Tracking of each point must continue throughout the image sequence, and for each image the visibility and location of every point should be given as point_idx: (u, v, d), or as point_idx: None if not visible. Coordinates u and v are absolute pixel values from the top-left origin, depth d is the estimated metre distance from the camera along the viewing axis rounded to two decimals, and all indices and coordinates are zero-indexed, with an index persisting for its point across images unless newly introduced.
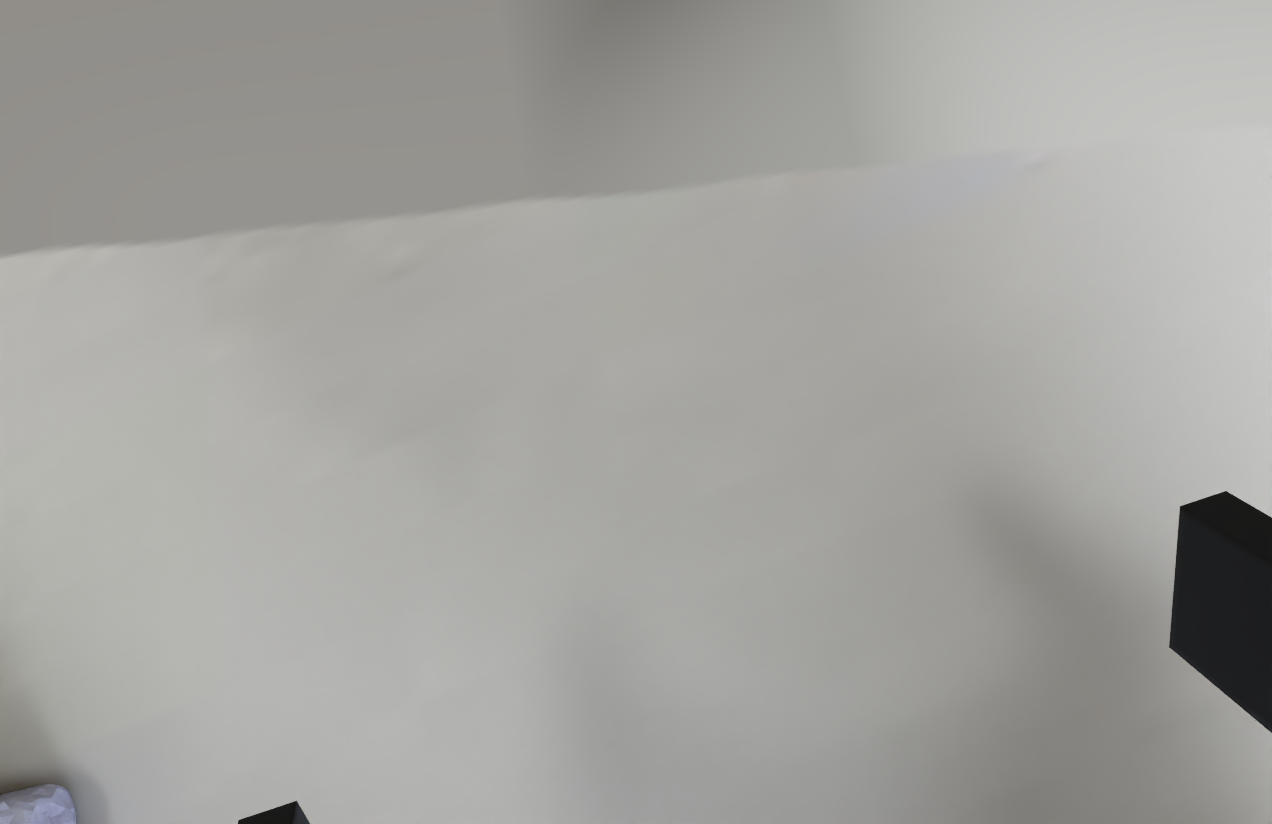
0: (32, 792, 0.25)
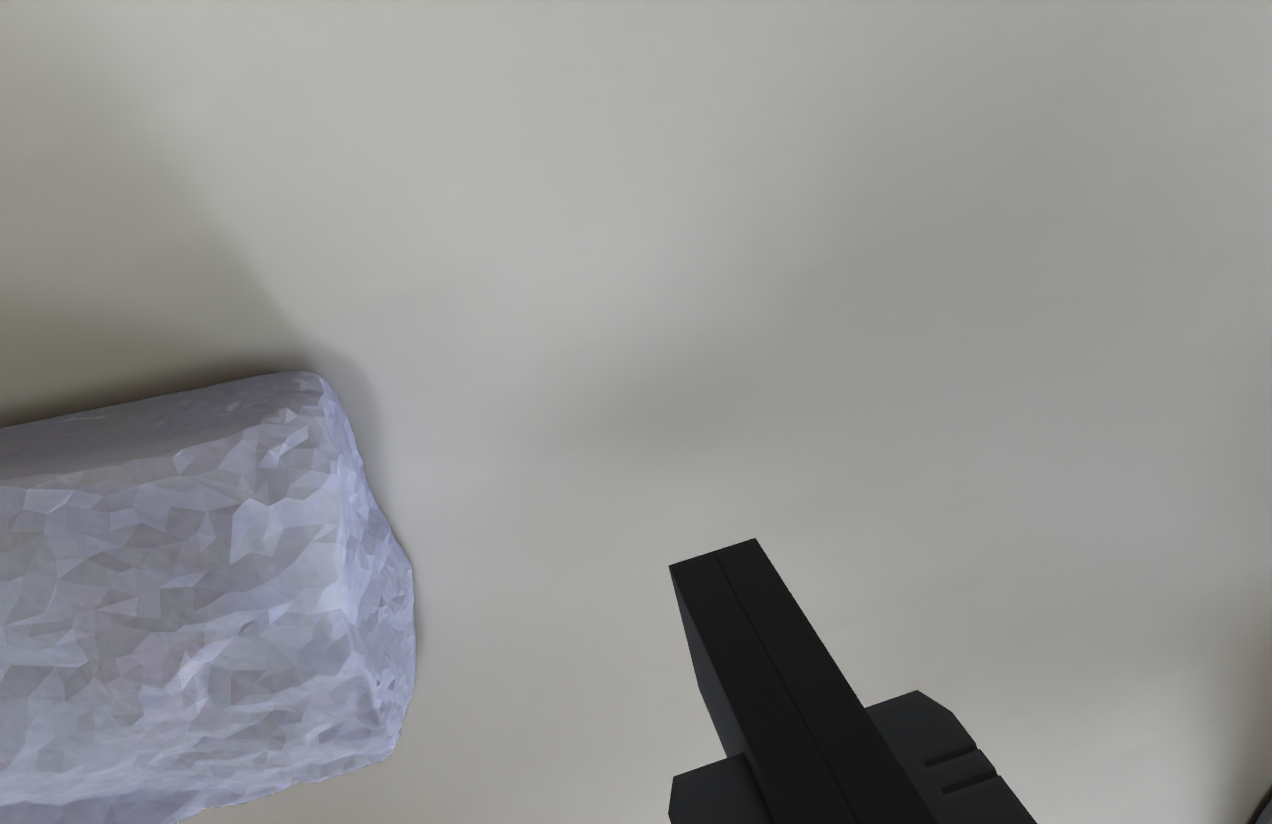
0: (297, 387, 0.17)
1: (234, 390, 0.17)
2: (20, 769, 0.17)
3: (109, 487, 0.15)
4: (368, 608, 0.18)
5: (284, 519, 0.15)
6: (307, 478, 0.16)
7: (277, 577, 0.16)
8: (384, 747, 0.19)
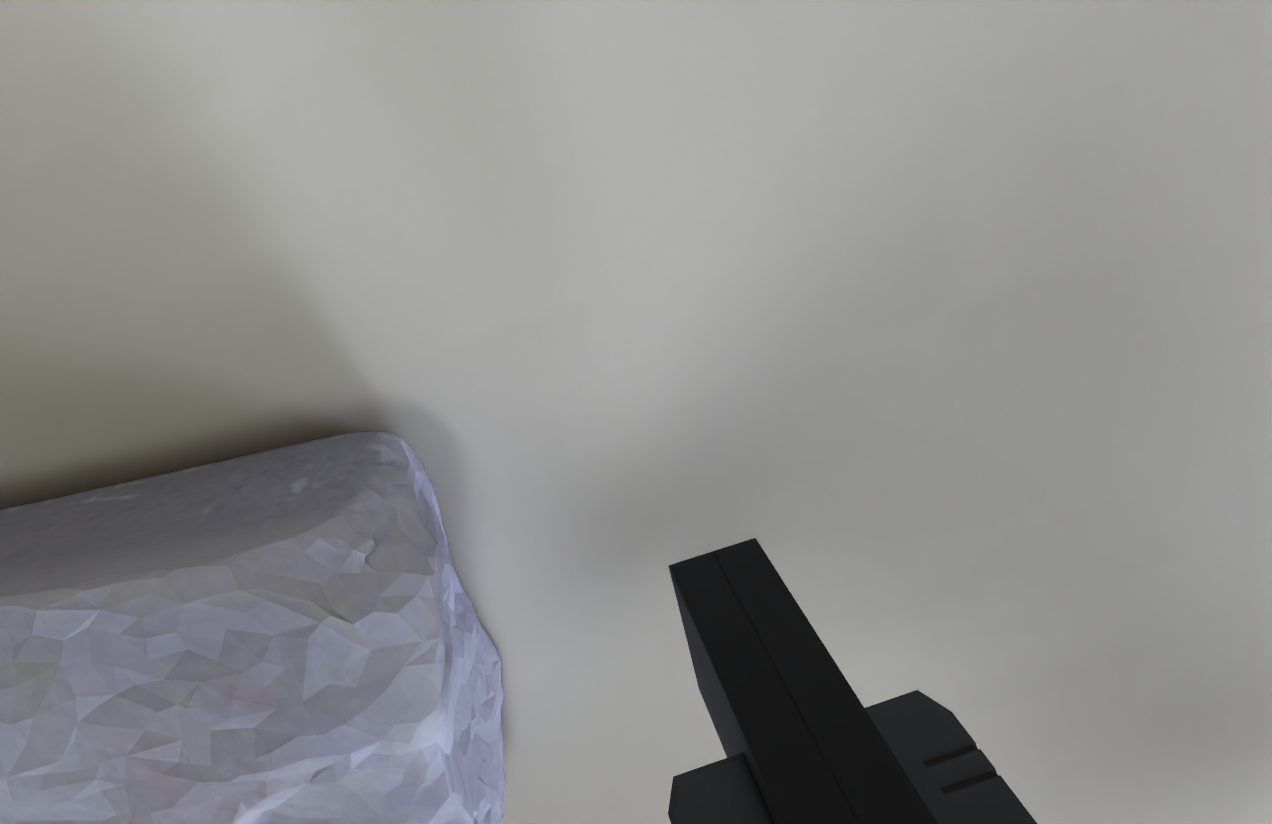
0: (378, 456, 0.13)
1: (297, 460, 0.14)
2: None
3: (145, 606, 0.11)
4: (461, 724, 0.15)
5: (373, 638, 0.12)
6: (400, 583, 0.12)
7: (363, 713, 0.12)
8: None
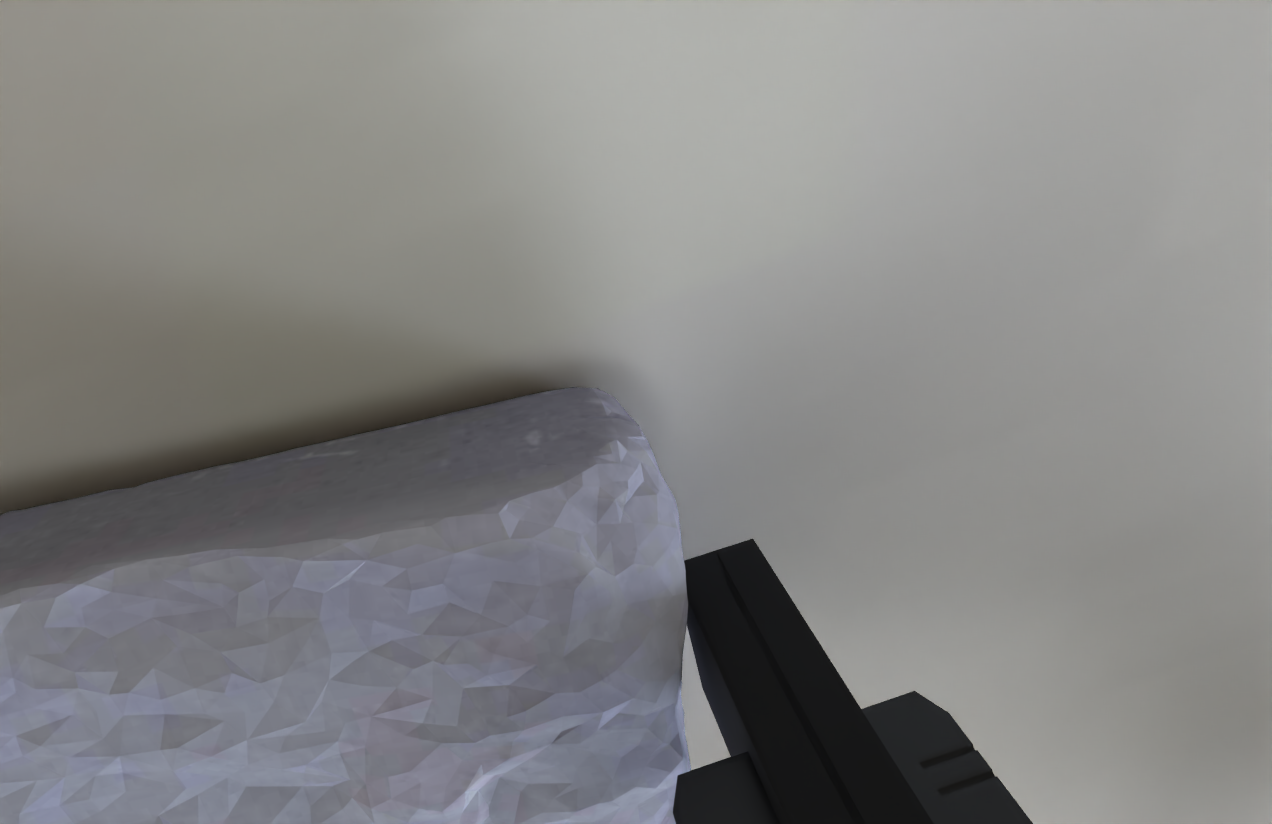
0: (602, 410, 0.13)
1: (517, 415, 0.13)
2: None
3: (414, 557, 0.11)
4: None
5: (630, 592, 0.11)
6: (656, 535, 0.12)
7: (618, 670, 0.12)
8: None
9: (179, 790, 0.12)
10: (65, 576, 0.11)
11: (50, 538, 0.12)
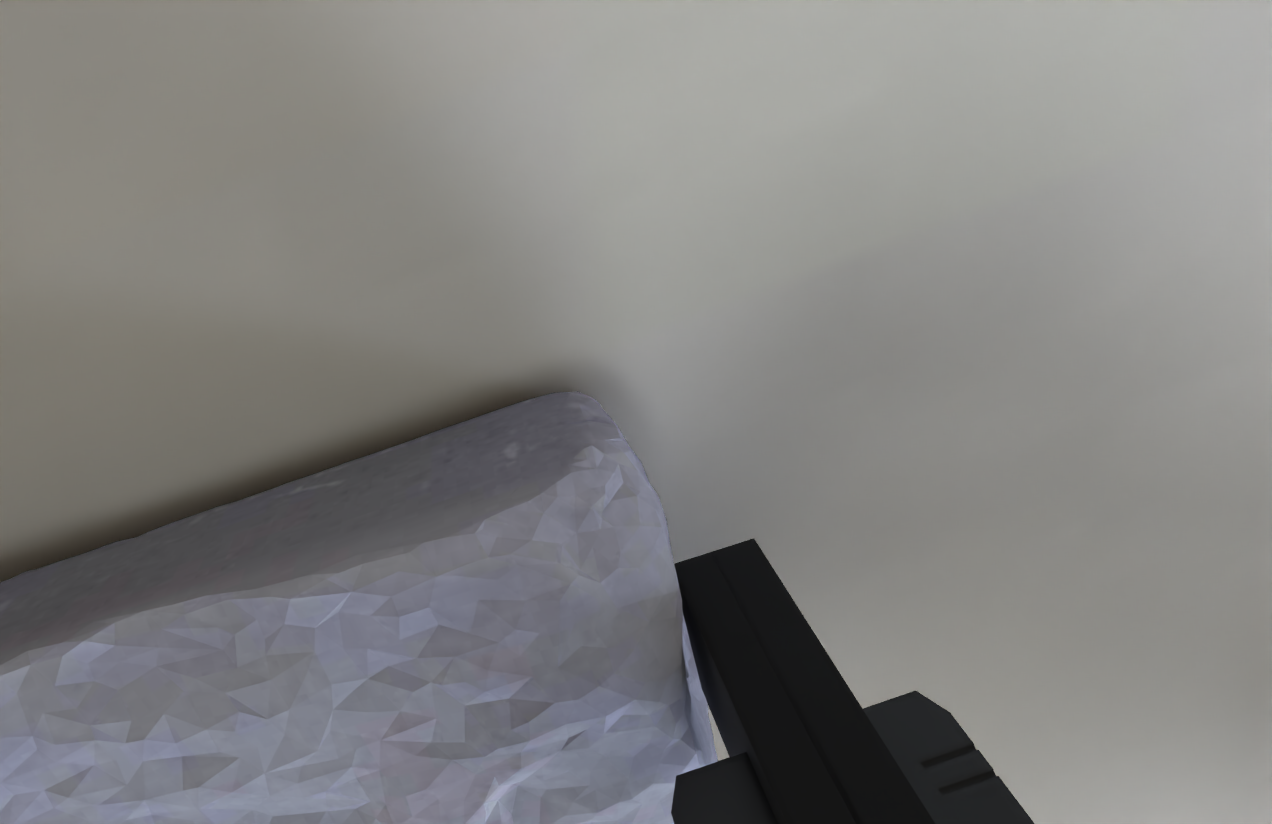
0: (580, 414, 0.13)
1: (496, 428, 0.13)
2: None
3: (396, 584, 0.11)
4: None
5: (618, 596, 0.11)
6: (638, 537, 0.12)
7: (615, 674, 0.12)
8: None
9: None
10: (69, 634, 0.11)
11: (57, 597, 0.12)
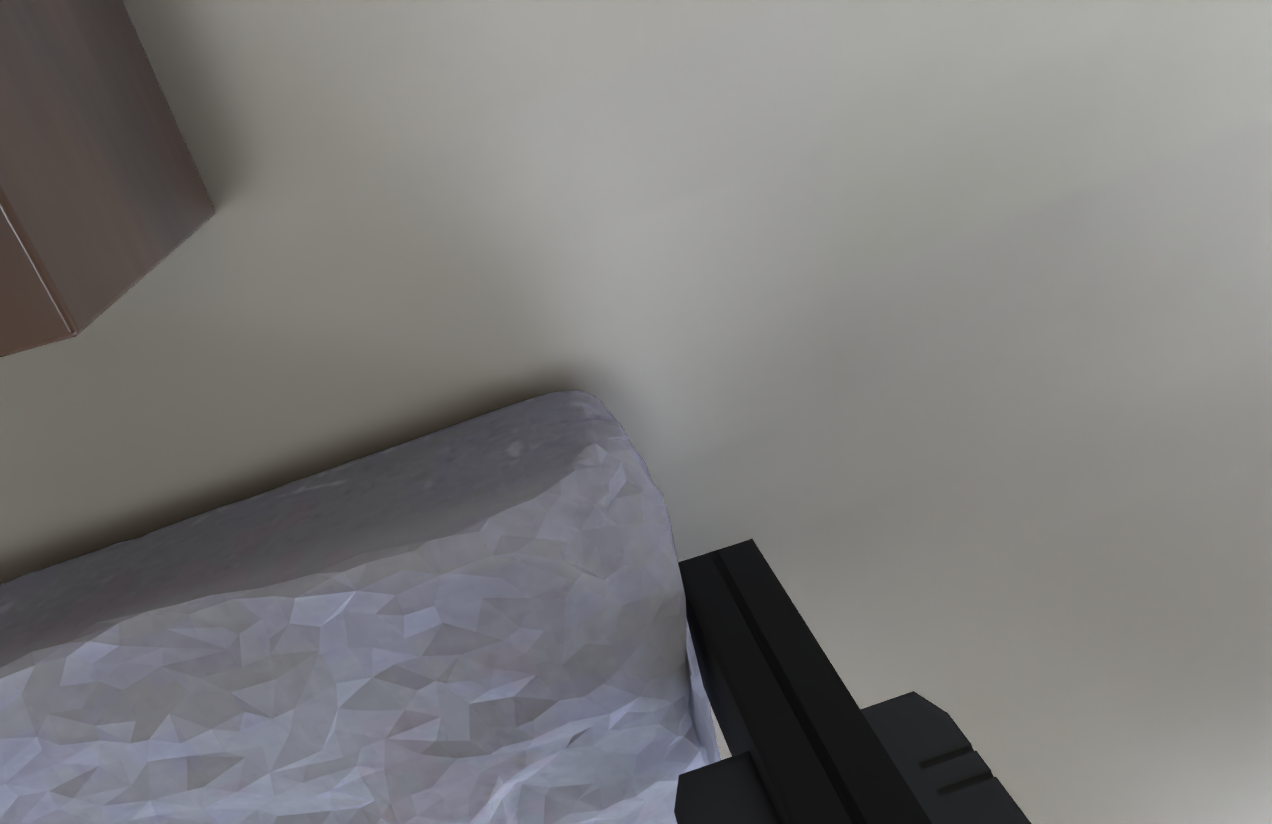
0: (582, 412, 0.13)
1: (499, 427, 0.13)
2: None
3: (401, 583, 0.11)
4: None
5: (622, 593, 0.12)
6: (642, 534, 0.12)
7: (620, 671, 0.12)
8: None
9: None
10: (73, 634, 0.11)
11: (61, 597, 0.12)
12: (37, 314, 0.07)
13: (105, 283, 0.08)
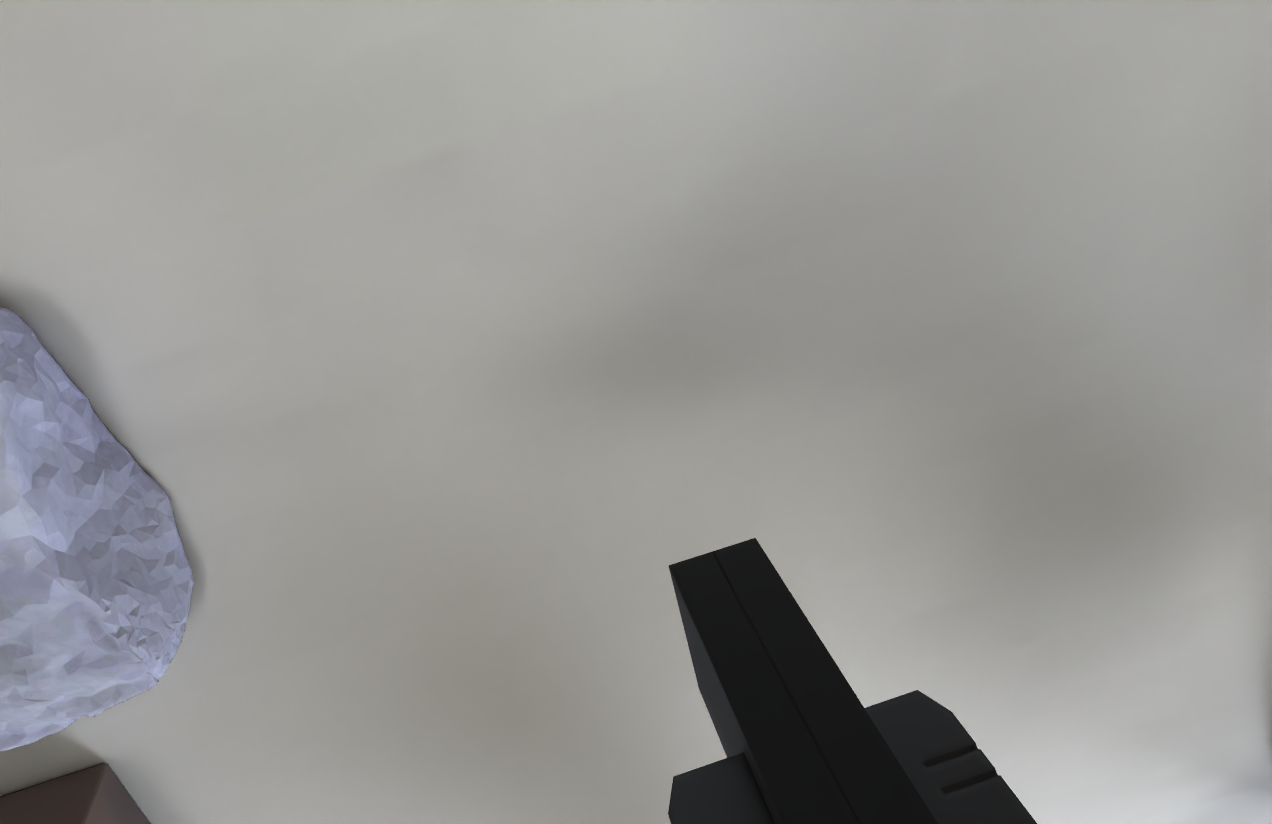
0: None
1: None
2: None
3: None
4: (95, 537, 0.18)
5: None
6: None
7: None
8: (141, 673, 0.19)
9: None
10: None
11: None
12: None
13: None
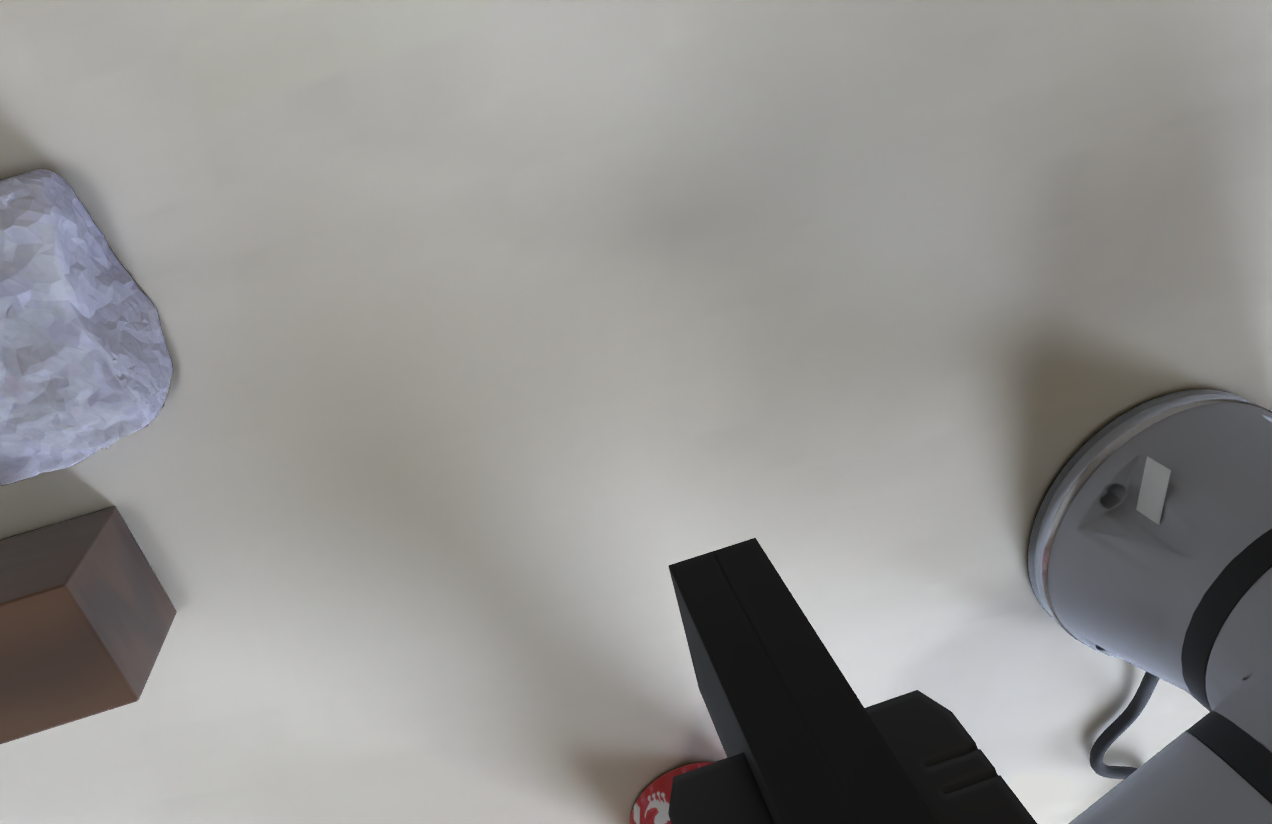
0: (32, 174, 0.28)
1: None
2: None
3: None
4: (107, 317, 0.29)
5: (16, 239, 0.26)
6: (28, 214, 0.26)
7: (18, 274, 0.27)
8: (135, 410, 0.30)
9: None
10: None
11: None
12: None
13: None
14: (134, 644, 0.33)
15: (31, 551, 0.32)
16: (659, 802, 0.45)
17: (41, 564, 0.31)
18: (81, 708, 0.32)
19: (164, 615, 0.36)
